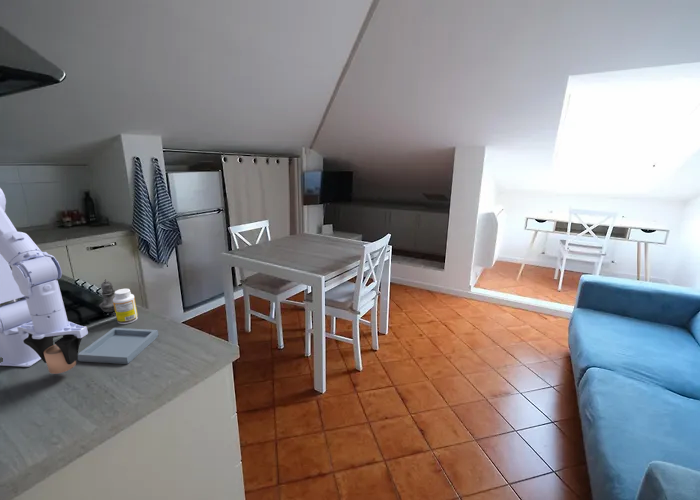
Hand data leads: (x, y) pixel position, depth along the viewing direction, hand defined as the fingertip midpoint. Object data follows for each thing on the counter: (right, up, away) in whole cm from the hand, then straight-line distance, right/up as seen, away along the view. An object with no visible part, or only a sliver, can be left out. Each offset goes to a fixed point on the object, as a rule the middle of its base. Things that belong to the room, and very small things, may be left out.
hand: (61, 360), depth 77 cm
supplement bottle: (-2, +4, +26) cm, 27 cm away
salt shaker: (-10, +5, +30) cm, 32 cm away
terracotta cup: (0, -2, +1) cm, 2 cm away
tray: (+5, -1, +13) cm, 14 cm away
